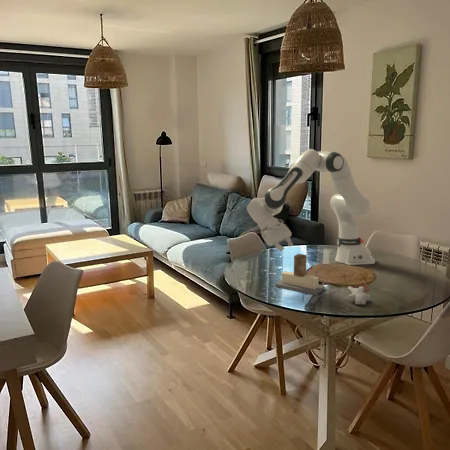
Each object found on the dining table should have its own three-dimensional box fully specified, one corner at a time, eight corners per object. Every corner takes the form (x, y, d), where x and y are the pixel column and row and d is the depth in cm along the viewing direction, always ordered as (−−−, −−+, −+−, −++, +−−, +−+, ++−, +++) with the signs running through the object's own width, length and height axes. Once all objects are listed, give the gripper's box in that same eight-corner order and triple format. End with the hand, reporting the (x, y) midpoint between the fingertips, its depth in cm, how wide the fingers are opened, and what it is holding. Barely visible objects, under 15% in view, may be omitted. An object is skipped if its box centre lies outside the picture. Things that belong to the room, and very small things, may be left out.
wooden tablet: (371, 290, 210) (350, 287, 211) (371, 295, 210) (349, 292, 212) (362, 273, 236) (343, 270, 237) (361, 277, 236) (342, 274, 237)
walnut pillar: (293, 275, 217) (294, 255, 215) (297, 273, 220) (298, 253, 218) (302, 277, 214) (302, 257, 212) (306, 274, 218) (306, 255, 216)
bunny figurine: (350, 297, 194) (345, 282, 208) (349, 308, 196) (344, 292, 210) (372, 298, 193) (366, 282, 207) (371, 308, 195) (365, 292, 209)
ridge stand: (275, 286, 221) (275, 274, 219) (284, 280, 229) (284, 268, 227) (316, 295, 208) (316, 282, 207) (324, 288, 216) (325, 276, 215)
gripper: (263, 226, 212) (281, 248, 208) (283, 218, 228) (300, 239, 225) (255, 234, 215) (272, 256, 212) (275, 226, 232) (292, 247, 228)
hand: (287, 247), depth 218 cm, fingers open, 8 cm apart
